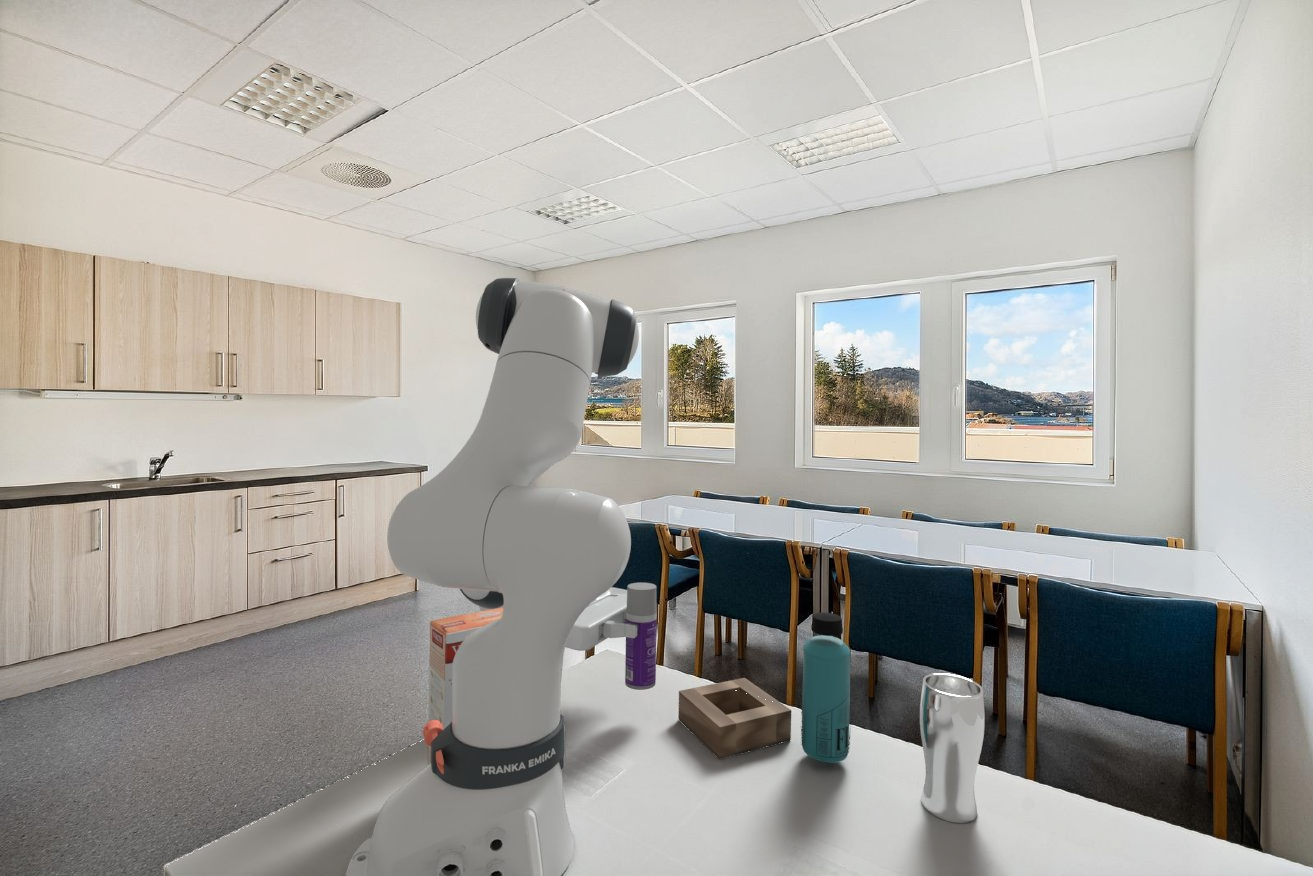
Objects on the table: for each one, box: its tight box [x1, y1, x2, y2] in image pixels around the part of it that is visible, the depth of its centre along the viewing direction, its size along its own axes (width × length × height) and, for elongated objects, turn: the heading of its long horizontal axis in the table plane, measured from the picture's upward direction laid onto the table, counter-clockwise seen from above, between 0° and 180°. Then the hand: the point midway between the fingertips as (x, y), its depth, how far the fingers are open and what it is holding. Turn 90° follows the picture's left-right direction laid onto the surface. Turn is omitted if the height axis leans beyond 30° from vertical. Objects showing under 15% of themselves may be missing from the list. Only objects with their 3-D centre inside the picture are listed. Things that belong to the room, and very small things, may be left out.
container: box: [624, 582, 658, 691], centre depth 94 cm, size 5×5×15 cm
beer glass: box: [919, 672, 985, 824], centre depth 74 cm, size 7×7×15 cm
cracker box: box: [427, 607, 503, 766], centre depth 78 cm, size 14×6×21 cm, turn 129°
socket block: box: [677, 677, 792, 761], centre depth 91 cm, size 12×12×4 cm
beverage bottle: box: [800, 612, 852, 763], centre depth 83 cm, size 6×7×20 cm
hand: (646, 625), depth 93 cm, fingers closed on container, 5 cm apart
